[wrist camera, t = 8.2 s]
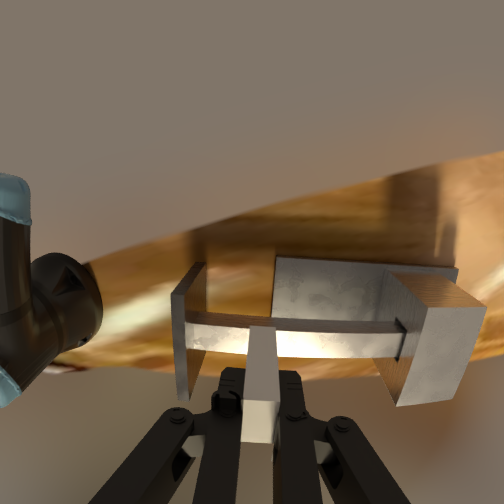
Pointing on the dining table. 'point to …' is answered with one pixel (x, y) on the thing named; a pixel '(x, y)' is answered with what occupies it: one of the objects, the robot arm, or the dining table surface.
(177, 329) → the grey crossbar bracket
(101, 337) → the dining table surface
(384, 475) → the robot arm
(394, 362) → the block
